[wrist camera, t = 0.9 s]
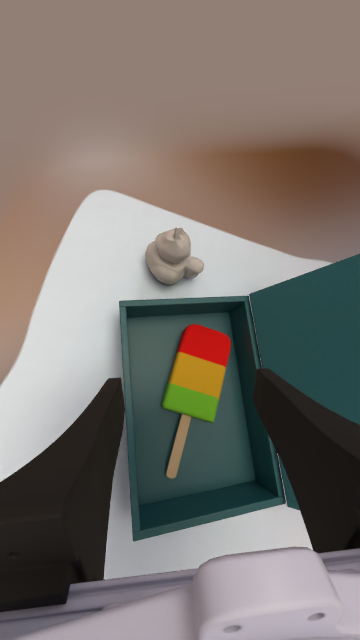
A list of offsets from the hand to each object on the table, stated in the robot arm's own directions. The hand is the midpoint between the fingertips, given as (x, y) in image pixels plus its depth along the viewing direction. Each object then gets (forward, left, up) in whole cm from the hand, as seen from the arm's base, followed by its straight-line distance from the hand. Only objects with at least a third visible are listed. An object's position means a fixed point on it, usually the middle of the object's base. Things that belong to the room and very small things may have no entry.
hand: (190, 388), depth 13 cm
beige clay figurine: (+13, -3, -14) cm, 20 cm away
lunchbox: (-1, -3, -14) cm, 15 cm away
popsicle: (-1, -3, -14) cm, 14 cm away
